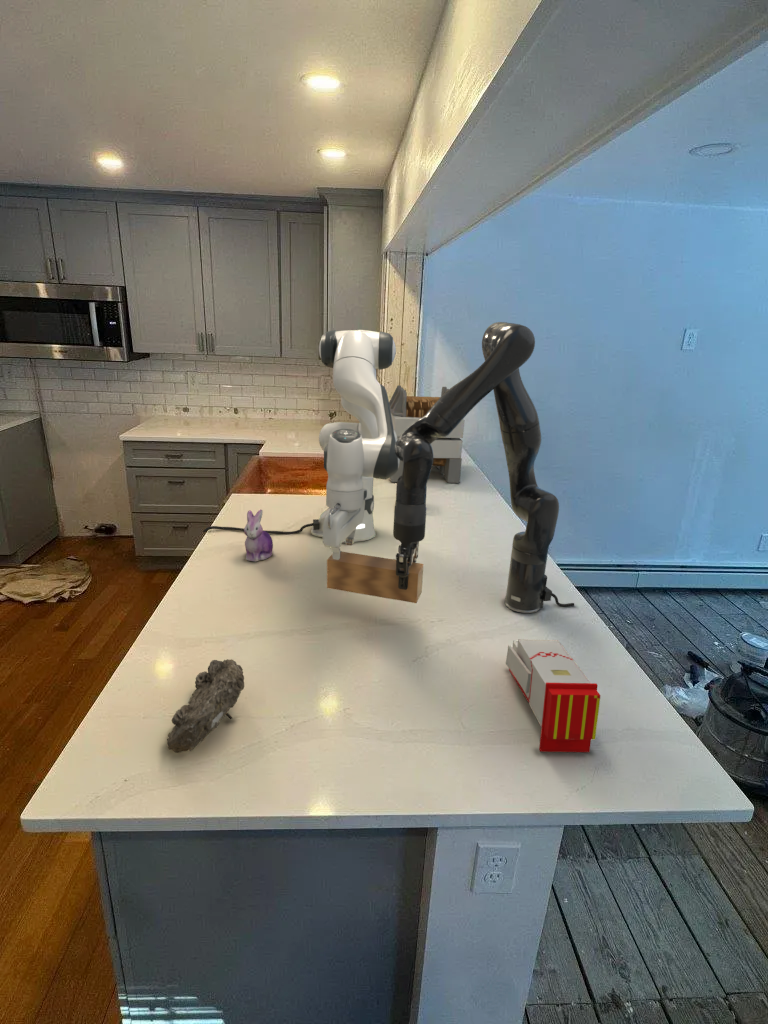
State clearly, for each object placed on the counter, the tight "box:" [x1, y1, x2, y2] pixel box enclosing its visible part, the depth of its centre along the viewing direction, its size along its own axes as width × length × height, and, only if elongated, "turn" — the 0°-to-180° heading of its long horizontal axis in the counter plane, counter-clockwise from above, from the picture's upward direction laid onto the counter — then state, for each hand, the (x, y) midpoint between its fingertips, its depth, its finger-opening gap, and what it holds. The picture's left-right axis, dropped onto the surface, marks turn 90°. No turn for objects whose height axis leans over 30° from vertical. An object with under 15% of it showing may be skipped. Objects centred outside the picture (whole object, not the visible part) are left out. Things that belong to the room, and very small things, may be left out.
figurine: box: [243, 508, 274, 562], centre depth 175 cm, size 9×10×15 cm
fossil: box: [166, 658, 245, 754], centre depth 106 cm, size 22×10×15 cm
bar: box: [326, 551, 424, 604], centre depth 141 cm, size 23×6×8 cm, turn 74°
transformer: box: [389, 384, 465, 484], centre depth 268 cm, size 34×33×41 cm
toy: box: [505, 638, 602, 753], centre depth 114 cm, size 12×13×30 cm
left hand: (343, 551), depth 141 cm, fingers open, 8 cm apart
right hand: (406, 582), depth 139 cm, fingers closed on bar, 6 cm apart
